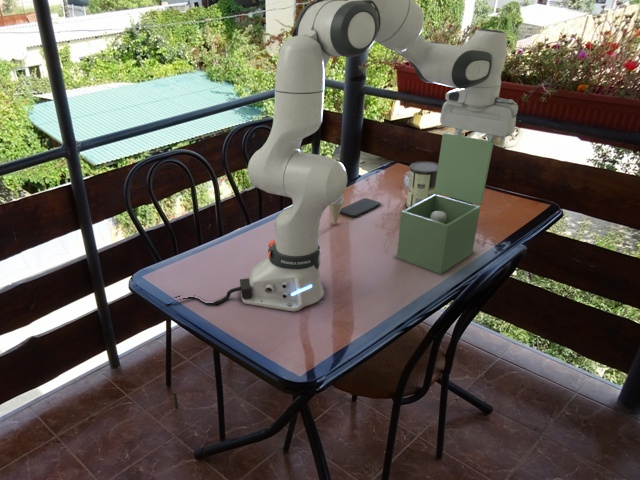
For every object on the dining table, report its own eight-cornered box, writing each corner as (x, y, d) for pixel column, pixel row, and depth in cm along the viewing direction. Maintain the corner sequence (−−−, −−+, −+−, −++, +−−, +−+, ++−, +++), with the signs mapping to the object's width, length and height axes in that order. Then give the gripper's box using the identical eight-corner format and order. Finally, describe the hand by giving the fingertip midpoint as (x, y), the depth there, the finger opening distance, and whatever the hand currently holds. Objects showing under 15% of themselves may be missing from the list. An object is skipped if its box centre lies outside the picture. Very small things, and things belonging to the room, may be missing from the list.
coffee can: (431, 198, 199) (436, 160, 191) (440, 210, 190) (445, 170, 183) (402, 200, 200) (406, 162, 192) (409, 212, 191) (414, 172, 183)
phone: (381, 202, 197) (354, 215, 189) (381, 205, 197) (354, 218, 189) (364, 197, 202) (337, 210, 194) (364, 199, 202) (337, 212, 194)
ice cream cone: (333, 219, 190) (334, 177, 182) (345, 223, 187) (347, 181, 178) (324, 225, 187) (324, 182, 179) (336, 228, 184) (337, 185, 176)
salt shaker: (443, 249, 166) (449, 208, 159) (445, 258, 161) (451, 217, 154) (422, 248, 167) (427, 208, 160) (424, 257, 162) (429, 216, 155)
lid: (492, 142, 146) (502, 138, 149) (442, 133, 156) (452, 129, 159) (480, 205, 156) (489, 200, 158) (434, 192, 165) (443, 188, 168)
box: (440, 274, 155) (447, 226, 147) (396, 257, 165) (401, 211, 157) (472, 253, 164) (480, 206, 156) (428, 238, 174) (434, 193, 166)
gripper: (525, 98, 143) (514, 151, 150) (453, 88, 156) (446, 137, 164) (513, 103, 139) (502, 157, 147) (440, 93, 153) (434, 143, 160)
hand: (472, 146), depth 155 cm, fingers closed on lid, 6 cm apart
